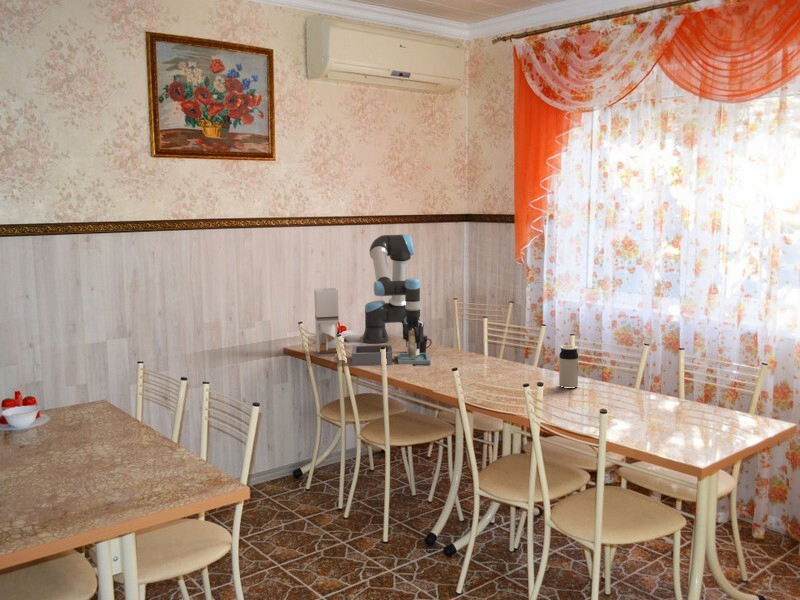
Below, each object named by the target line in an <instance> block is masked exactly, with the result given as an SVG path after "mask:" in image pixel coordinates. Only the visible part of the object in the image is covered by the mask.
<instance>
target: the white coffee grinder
mask: <svg viewBox="0 0 800 600" xmlns="http://www.w3.org/2000/svg"><path fill="white" fill-rule="evenodd" d="M336 289H337V288H336V287H330V288H329V287H328V288H327V287H326V288H325V287H324V288H314V289H313V291H314V319H315V320H314V323H315V349H316V350H315V351H316V356H317V357H331V356H332V357H333V356H335V355H337V351H336V344H335V336H336V334H337V335H338V329H337V328H338V327H337V325H338V323H339V290H338V289H337V290H336Z"/></svg>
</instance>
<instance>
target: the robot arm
mask: <svg viewBox="0 0 800 600" xmlns="http://www.w3.org/2000/svg"><path fill="white" fill-rule="evenodd" d="M414 253H415V250H414V242H413V239H412V236H411V234H403V233H402V234H383V235H380V236H378V237H377V238H375V239H374V240H373V241H372V242H371V245H370V246H369V256H370V258H371V260H372V263H373V270H374V274H375V280H376V281H374V282H373V293H374V296H376V297H390V296H391V297H390V298H389V299H388V302H386V301H385V300H383V299H382V300H374V301H370V302H367V303H366V304H365V305H364V317H365V318H364V321H365V322H364V327H365V328H364V332H363V335H362V342H363V343H366V344H384V343H387V342H389V335H388V332H387V329H386V324H393V323H397V324H398V323H400V324H402V339H403V340H405V343H406V344H405V345H406V350H407V351H406V353H407V354H409V330H414V334H415V340H416V342H415V356H416V355H419V349H420V342H422V341H423V334H424V326H425V322H423V321H421V320H420V318H421V310H420V309H421V283H420V279H419V278H414V277H413V278H408V265H409V263H408V262H409V261H410V260H411V256H414ZM387 257H389V259H390V260H391V261H392V264H391V265H392V266H391V267H392V269H391V273H392V274H390V269H389V263H388V258H387Z"/></svg>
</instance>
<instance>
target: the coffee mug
mask: <svg viewBox="0 0 800 600" xmlns="http://www.w3.org/2000/svg"><path fill="white" fill-rule="evenodd" d="M427 341H429V342H430V344H429V345H428V346H427V343H428V342H427ZM431 345H432V340H431V339H430V338H428V334H426V333H423V341H422V342H420V349H419V353H427V349H428V348H430V347H431Z"/></svg>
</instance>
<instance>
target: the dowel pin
mask: <svg viewBox="0 0 800 600" xmlns="http://www.w3.org/2000/svg"><path fill="white" fill-rule="evenodd" d="M415 342H416V340H415V334H414V330H413V329H412V330H409V358H412V359H414V358H418V355H416V356H415Z"/></svg>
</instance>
